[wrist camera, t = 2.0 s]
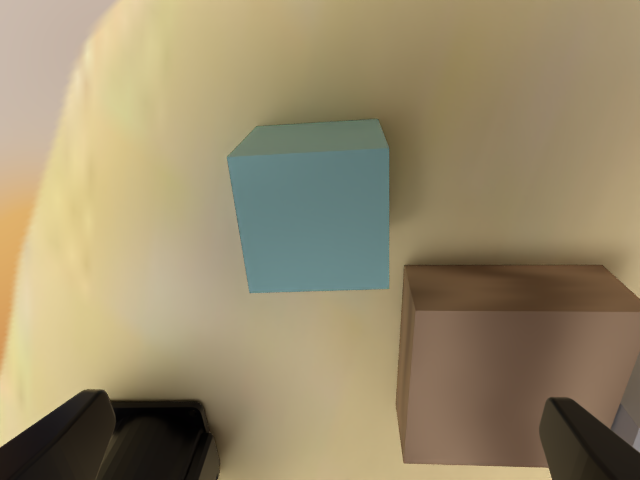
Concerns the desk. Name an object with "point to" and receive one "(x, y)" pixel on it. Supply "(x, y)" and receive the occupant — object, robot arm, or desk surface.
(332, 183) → the teal cube
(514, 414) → the walnut block
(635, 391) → the grey cube
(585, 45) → the desk surface
